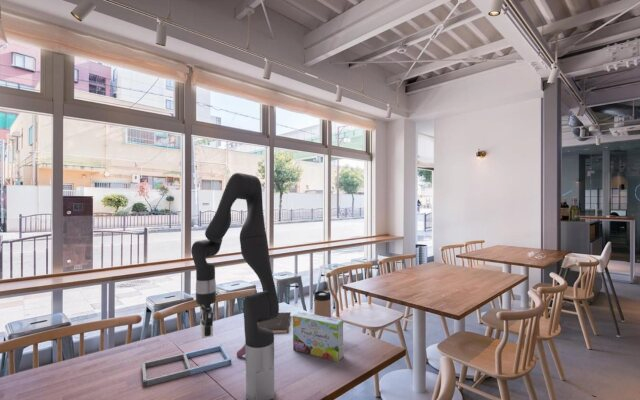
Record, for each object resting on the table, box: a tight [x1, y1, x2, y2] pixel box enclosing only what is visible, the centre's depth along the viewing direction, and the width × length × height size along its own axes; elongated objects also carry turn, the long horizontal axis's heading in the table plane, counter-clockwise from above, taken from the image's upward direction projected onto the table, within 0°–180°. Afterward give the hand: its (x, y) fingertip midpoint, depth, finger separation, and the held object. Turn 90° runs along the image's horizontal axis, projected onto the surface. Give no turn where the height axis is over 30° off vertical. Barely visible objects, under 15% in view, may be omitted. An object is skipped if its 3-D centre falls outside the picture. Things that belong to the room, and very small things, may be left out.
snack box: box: [292, 311, 344, 362], centre depth 137 cm, size 21×6×15 cm, turn 62°
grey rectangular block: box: [199, 318, 214, 339], centre depth 131 cm, size 4×4×6 cm
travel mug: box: [313, 290, 332, 318], centre depth 153 cm, size 8×8×20 cm
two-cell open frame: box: [141, 344, 232, 388], centre depth 128 cm, size 15×30×2 cm, turn 120°
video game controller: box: [236, 344, 246, 357], centre depth 139 cm, size 10×5×7 cm, turn 169°
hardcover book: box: [257, 311, 292, 334], centre depth 169 cm, size 16×23×2 cm
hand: (206, 333), depth 132 cm, fingers closed on grey rectangular block, 4 cm apart
